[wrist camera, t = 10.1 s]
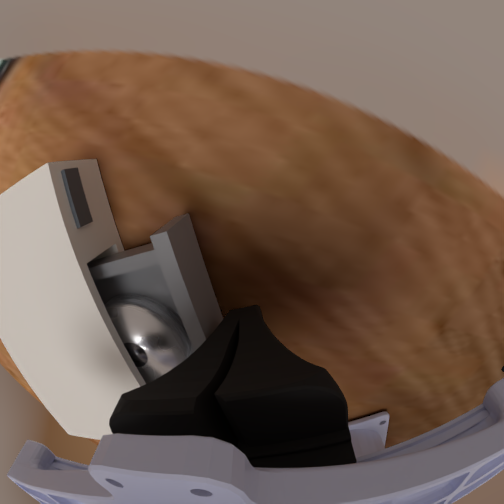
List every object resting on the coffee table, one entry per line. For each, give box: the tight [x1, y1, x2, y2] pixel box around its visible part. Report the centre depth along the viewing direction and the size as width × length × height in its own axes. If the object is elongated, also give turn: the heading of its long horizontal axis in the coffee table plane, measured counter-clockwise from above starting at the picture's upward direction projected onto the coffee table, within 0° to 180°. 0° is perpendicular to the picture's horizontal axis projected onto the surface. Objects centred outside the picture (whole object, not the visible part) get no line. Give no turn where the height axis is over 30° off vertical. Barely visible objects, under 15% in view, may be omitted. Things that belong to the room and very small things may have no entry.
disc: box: [105, 293, 192, 384], centre depth 12 cm, size 5×5×2 cm
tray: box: [87, 213, 223, 355], centre depth 12 cm, size 9×10×3 cm
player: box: [0, 159, 146, 440], centre depth 12 cm, size 9×15×4 cm, turn 15°
